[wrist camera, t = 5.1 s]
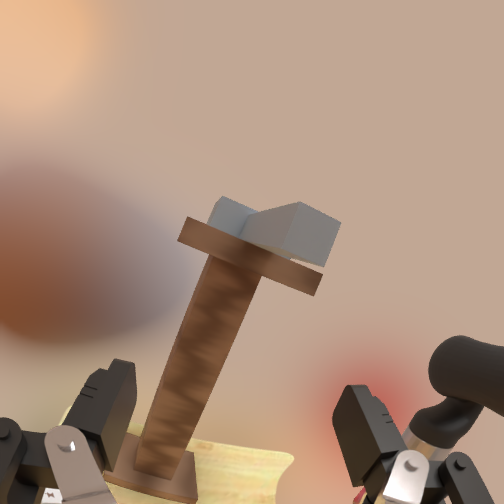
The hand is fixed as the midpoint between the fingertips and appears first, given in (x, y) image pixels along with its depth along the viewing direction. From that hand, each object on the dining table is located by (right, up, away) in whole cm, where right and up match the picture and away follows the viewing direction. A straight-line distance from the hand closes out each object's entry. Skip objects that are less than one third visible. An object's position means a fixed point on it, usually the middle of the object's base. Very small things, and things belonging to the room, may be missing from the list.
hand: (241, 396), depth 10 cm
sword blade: (+1, +6, +14) cm, 15 cm away
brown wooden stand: (-13, -24, +19) cm, 34 cm away
